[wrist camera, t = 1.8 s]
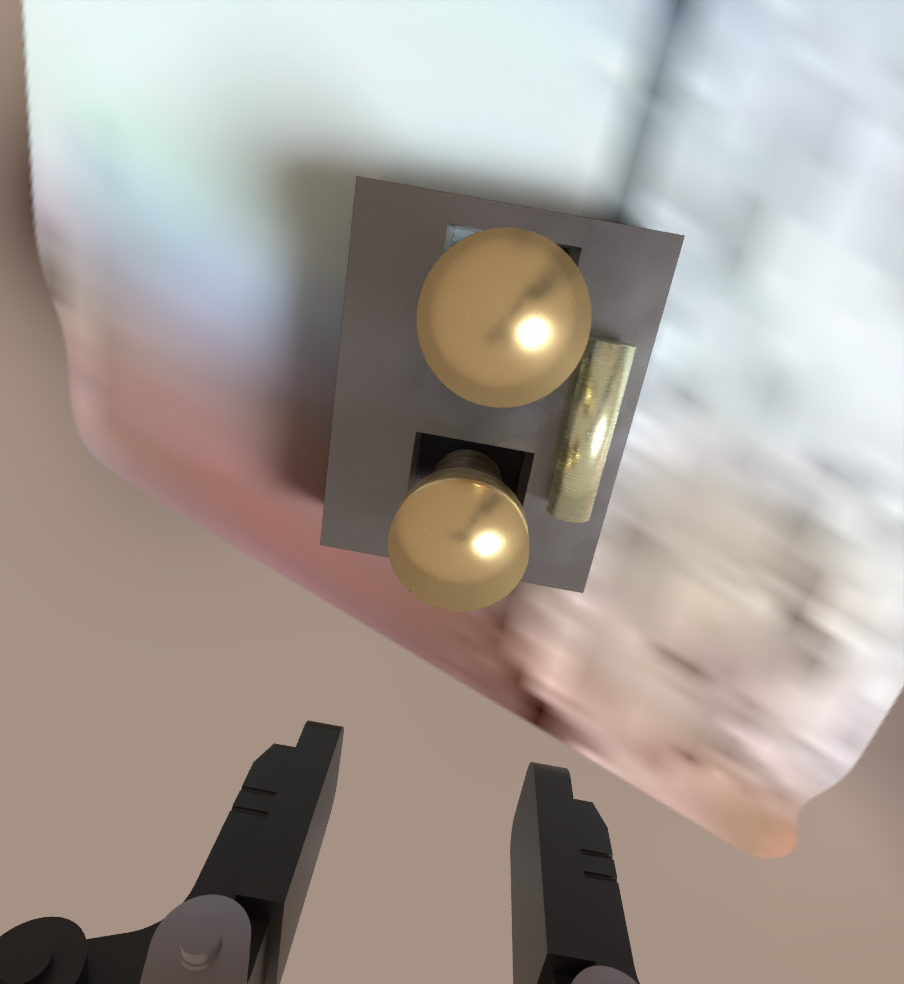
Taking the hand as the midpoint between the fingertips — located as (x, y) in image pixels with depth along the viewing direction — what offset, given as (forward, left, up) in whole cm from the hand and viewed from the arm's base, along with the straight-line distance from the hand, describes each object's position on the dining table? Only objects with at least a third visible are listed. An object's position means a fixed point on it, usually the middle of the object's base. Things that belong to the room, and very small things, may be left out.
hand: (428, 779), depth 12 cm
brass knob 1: (-8, 0, -16) cm, 18 cm away
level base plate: (-4, 0, -19) cm, 20 cm away
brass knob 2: (0, 0, -17) cm, 17 cm away
